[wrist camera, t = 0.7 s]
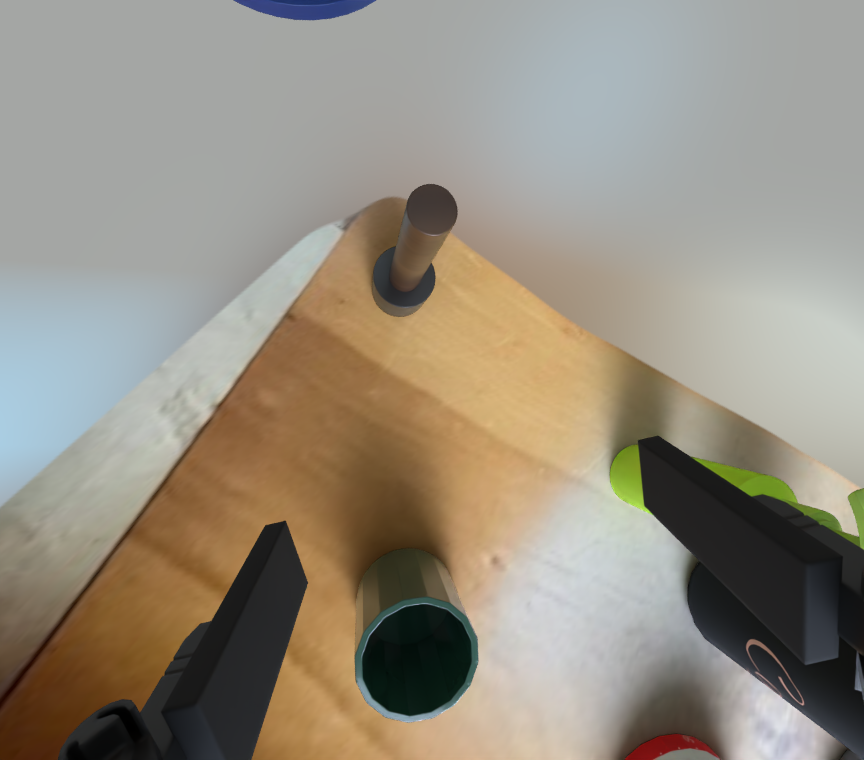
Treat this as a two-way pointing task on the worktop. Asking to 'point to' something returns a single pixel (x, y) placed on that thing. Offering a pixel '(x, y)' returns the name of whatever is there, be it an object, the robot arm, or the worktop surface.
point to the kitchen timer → (673, 749)
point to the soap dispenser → (630, 486)
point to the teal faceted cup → (412, 637)
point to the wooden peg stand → (414, 252)
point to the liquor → (850, 756)
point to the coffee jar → (780, 661)
